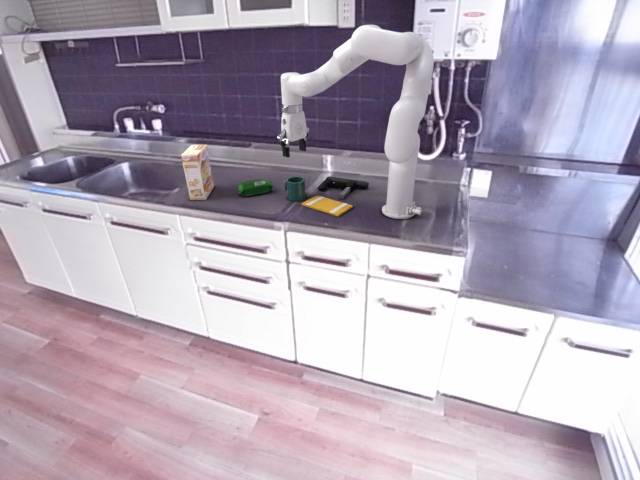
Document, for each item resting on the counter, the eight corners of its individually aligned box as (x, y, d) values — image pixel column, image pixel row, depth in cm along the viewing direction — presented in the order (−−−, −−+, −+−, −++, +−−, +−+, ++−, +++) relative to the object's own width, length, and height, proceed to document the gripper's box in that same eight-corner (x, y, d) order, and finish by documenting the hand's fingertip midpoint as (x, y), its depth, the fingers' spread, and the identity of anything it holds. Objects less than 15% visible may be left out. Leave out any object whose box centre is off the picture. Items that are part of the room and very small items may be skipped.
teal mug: (308, 196, 157) (308, 178, 153) (297, 202, 153) (296, 184, 149) (291, 191, 163) (289, 174, 159) (279, 197, 158) (278, 179, 154)
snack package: (276, 192, 162) (275, 181, 160) (240, 198, 157) (238, 187, 155) (271, 187, 168) (270, 176, 165) (236, 192, 163) (235, 181, 160)
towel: (352, 207, 147) (352, 205, 147) (338, 216, 141) (338, 214, 140) (317, 196, 157) (316, 194, 157) (301, 205, 150) (301, 203, 150)
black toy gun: (357, 195, 151) (369, 179, 163) (312, 188, 159) (327, 174, 171) (357, 202, 153) (369, 186, 165) (313, 195, 161) (328, 180, 172)
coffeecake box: (206, 200, 157) (197, 154, 147) (189, 200, 157) (179, 154, 147) (214, 186, 170) (207, 143, 160) (199, 187, 170) (190, 144, 160)
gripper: (284, 114, 132) (286, 161, 141) (314, 106, 144) (315, 150, 153) (268, 111, 136) (272, 157, 145) (300, 104, 148) (301, 146, 157)
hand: (294, 153), depth 149 cm, fingers open, 9 cm apart
